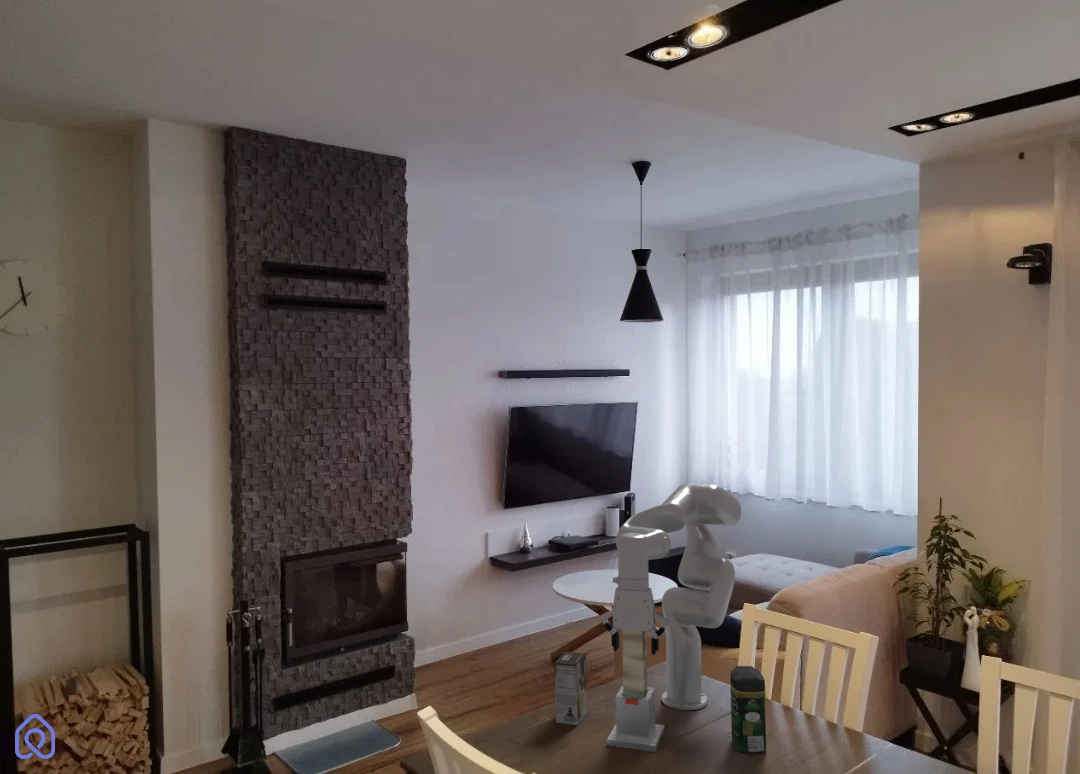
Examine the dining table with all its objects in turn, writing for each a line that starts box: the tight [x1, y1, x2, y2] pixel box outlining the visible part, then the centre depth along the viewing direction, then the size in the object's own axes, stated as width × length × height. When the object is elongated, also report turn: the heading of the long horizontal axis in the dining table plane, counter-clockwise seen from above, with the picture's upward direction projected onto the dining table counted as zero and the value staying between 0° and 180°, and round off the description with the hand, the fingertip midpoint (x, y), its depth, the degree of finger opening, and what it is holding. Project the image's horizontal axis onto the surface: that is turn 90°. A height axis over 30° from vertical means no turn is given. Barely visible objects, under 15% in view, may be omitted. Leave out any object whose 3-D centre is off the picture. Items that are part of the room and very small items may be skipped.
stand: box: [606, 685, 665, 753], centre depth 195 cm, size 12×12×12 cm
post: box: [621, 629, 648, 698], centre depth 195 cm, size 5×5×20 cm
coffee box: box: [554, 651, 588, 726], centre depth 208 cm, size 9×6×16 cm
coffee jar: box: [729, 665, 767, 755], centre depth 189 cm, size 10×8×19 cm
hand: (635, 651), depth 195 cm, fingers open, 9 cm apart
